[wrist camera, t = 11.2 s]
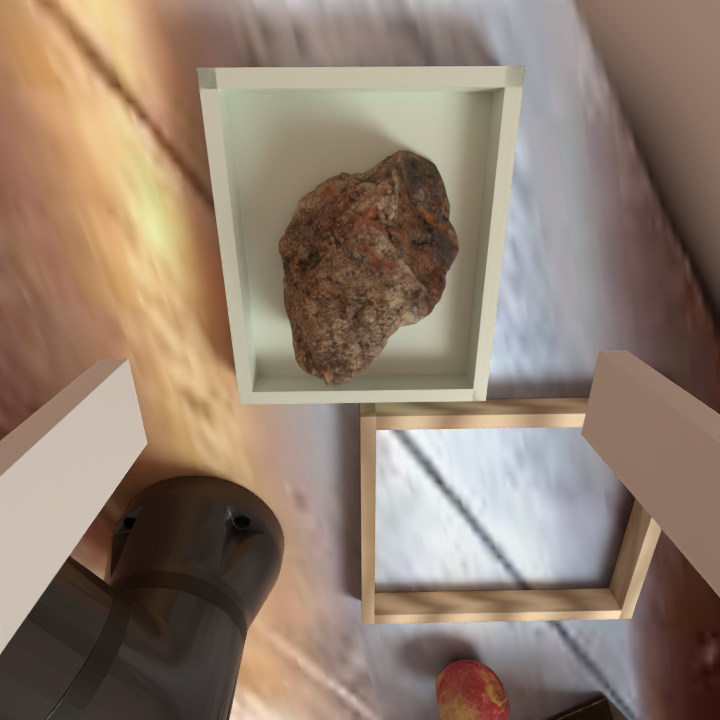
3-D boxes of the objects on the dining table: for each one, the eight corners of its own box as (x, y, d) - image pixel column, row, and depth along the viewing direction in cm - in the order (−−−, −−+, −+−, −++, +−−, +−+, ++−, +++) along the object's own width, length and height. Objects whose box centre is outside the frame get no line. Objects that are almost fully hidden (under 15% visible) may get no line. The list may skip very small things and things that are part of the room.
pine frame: (361, 601, 47) (362, 623, 45) (360, 400, 38) (360, 416, 36) (617, 596, 48) (630, 618, 45) (680, 396, 38) (701, 411, 36)
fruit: (439, 636, 50) (453, 719, 42) (506, 645, 51) (532, 728, 43) (419, 680, 53) (430, 765, 46) (483, 688, 54) (504, 773, 46)
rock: (477, 252, 33) (407, 121, 30) (529, 277, 25) (440, 100, 22) (311, 361, 35) (226, 249, 31) (309, 415, 27) (195, 274, 24)
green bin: (249, 382, 37) (240, 404, 34) (214, 77, 28) (196, 67, 25) (474, 379, 37) (485, 400, 34) (505, 75, 29) (525, 65, 25)
